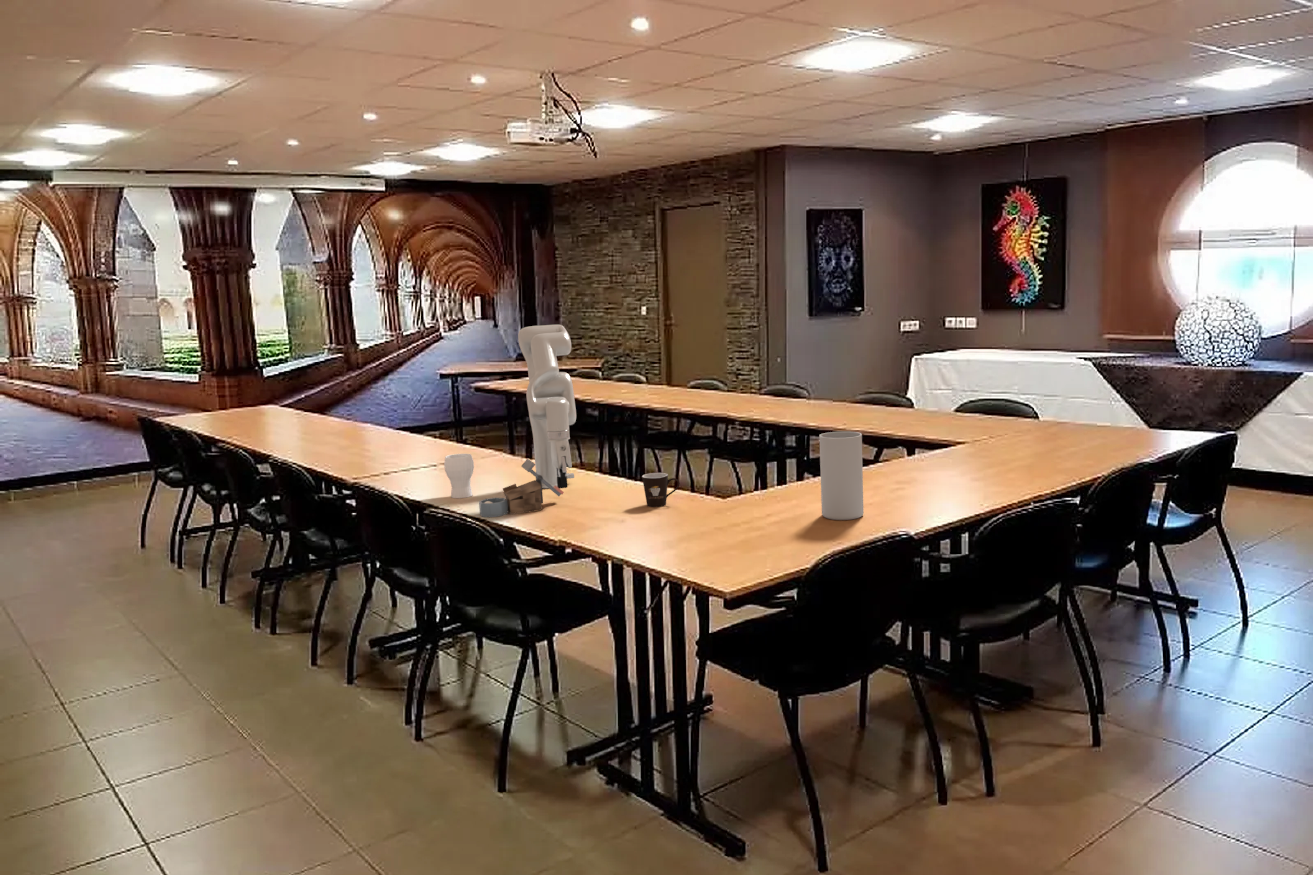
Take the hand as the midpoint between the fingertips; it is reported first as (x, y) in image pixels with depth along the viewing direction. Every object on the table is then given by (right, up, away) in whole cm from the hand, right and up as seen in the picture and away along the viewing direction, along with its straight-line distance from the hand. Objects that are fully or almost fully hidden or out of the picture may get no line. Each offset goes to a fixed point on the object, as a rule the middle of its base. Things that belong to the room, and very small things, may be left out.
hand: (562, 487), depth 341 cm
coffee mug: (+34, -5, -13) cm, 37 cm away
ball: (-24, -6, -13) cm, 27 cm away
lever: (-6, +2, -6) cm, 9 cm away
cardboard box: (-12, -7, -6) cm, 15 cm away
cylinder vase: (+89, -7, -41) cm, 99 cm away
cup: (-39, -4, +20) cm, 44 cm away
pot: (-22, -8, -12) cm, 26 cm away
